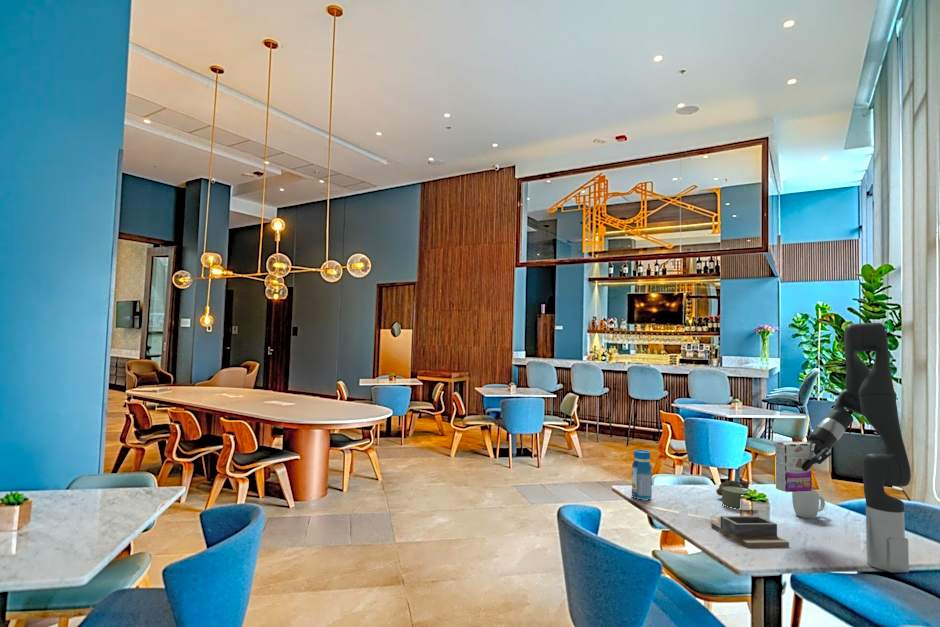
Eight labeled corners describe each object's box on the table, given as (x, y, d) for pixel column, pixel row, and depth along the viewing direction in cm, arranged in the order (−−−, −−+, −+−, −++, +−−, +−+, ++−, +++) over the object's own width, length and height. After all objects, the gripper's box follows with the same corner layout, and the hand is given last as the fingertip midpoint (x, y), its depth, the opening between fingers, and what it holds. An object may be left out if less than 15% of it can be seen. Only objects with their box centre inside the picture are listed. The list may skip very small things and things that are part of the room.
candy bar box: (800, 487, 191) (800, 441, 192) (812, 491, 186) (812, 443, 187) (774, 488, 188) (774, 441, 189) (785, 492, 183) (786, 444, 184)
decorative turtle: (756, 500, 232) (755, 482, 232) (726, 504, 228) (726, 486, 228) (739, 493, 241) (738, 476, 241) (711, 497, 237) (710, 479, 237)
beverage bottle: (645, 502, 223) (646, 453, 225) (627, 497, 230) (628, 450, 231) (655, 498, 229) (656, 451, 230) (637, 494, 235) (638, 448, 237)
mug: (804, 520, 206) (804, 493, 206) (787, 512, 215) (786, 487, 215) (833, 519, 208) (832, 493, 209) (814, 512, 217) (814, 487, 217)
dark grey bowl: (715, 503, 226) (715, 486, 226) (737, 501, 230) (737, 485, 230) (737, 511, 214) (737, 494, 215) (760, 509, 218) (760, 492, 219)
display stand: (789, 546, 175) (789, 529, 175) (747, 547, 173) (747, 530, 173) (749, 526, 195) (749, 511, 195) (711, 527, 193) (711, 511, 193)
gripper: (805, 423, 198) (776, 456, 195) (836, 428, 183) (805, 464, 181) (818, 438, 198) (789, 471, 195) (850, 444, 184) (820, 480, 181)
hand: (797, 467), depth 188 cm, fingers closed on candy bar box, 5 cm apart
